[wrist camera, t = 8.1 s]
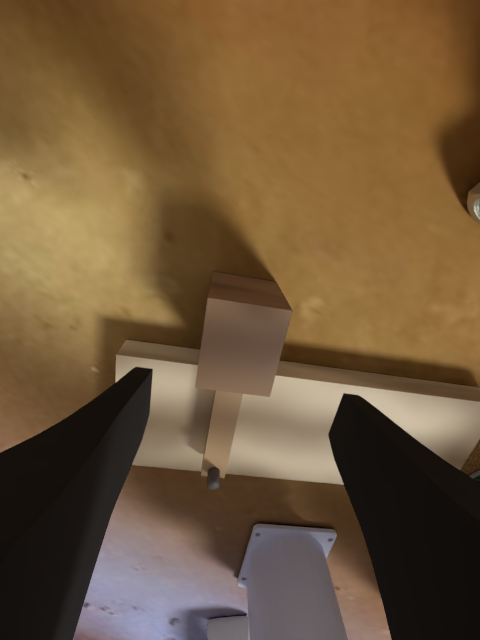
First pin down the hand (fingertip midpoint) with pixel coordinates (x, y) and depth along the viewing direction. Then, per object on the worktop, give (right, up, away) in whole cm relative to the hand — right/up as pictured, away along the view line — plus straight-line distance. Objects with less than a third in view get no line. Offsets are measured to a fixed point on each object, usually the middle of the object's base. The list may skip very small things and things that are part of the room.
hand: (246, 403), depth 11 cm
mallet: (-1, 0, +10) cm, 10 cm away
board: (+4, -4, +12) cm, 13 cm away
